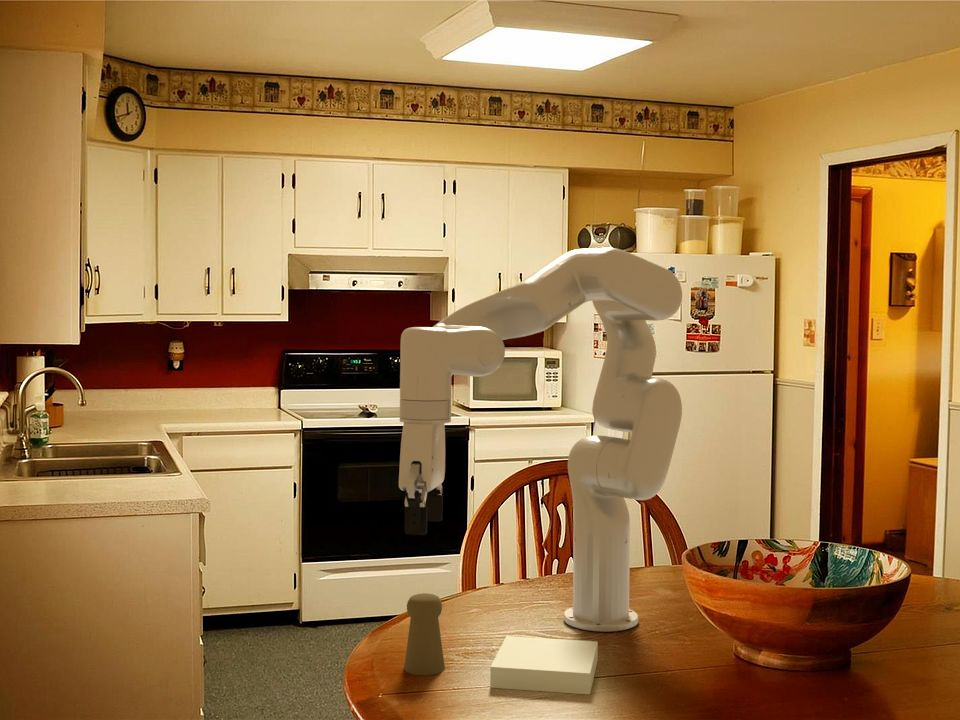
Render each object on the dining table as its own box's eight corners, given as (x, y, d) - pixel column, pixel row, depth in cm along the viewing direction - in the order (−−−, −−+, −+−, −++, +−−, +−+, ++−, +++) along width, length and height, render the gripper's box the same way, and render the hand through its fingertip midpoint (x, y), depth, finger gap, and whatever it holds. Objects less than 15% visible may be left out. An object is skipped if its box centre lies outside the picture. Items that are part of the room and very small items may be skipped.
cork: (444, 661, 161) (444, 589, 161) (444, 675, 155) (444, 600, 154) (404, 661, 161) (404, 589, 160) (403, 675, 155) (403, 601, 154)
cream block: (506, 655, 164) (506, 635, 164) (597, 660, 161) (597, 641, 161) (490, 687, 150) (490, 666, 150) (589, 694, 148) (589, 673, 147)
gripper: (415, 405, 165) (413, 515, 166) (384, 416, 148) (383, 538, 149) (462, 407, 164) (460, 517, 164) (437, 418, 147) (435, 541, 147)
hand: (423, 527), depth 157 cm, fingers open, 9 cm apart
